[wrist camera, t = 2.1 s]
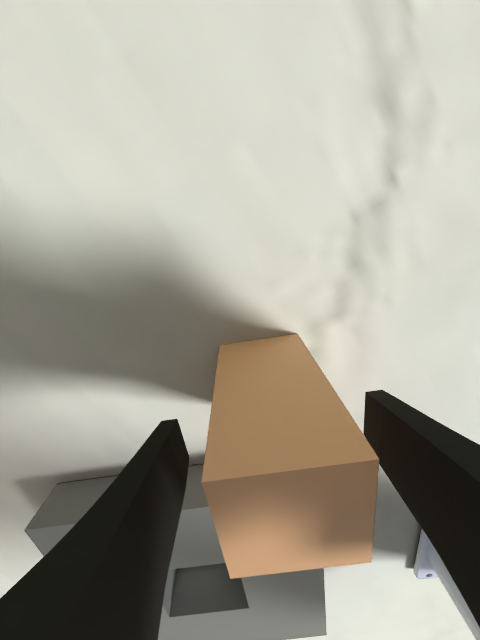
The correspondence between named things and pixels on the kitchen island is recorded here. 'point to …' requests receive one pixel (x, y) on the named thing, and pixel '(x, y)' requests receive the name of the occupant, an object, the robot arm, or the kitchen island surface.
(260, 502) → the plug
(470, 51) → the kitchen island surface
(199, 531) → the socket plate
